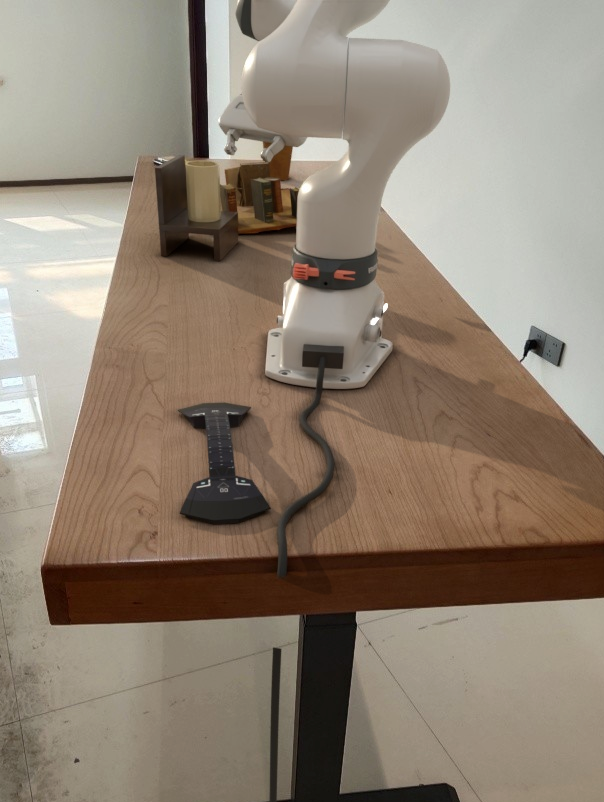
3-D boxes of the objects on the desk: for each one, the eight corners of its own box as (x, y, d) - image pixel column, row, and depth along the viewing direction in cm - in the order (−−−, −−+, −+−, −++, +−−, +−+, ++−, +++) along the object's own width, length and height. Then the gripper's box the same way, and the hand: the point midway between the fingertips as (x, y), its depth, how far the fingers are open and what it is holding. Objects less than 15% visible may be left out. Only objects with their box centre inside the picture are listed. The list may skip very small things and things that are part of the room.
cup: (215, 223, 142) (213, 167, 137) (183, 221, 143) (180, 165, 138) (224, 215, 148) (223, 161, 142) (193, 213, 148) (191, 159, 143)
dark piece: (250, 405, 93) (249, 381, 91) (272, 521, 73) (272, 493, 71) (177, 408, 92) (176, 383, 90) (180, 526, 72) (177, 498, 70)
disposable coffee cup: (301, 178, 209) (302, 131, 202) (278, 183, 203) (279, 135, 196) (276, 173, 214) (277, 127, 207) (253, 177, 208) (253, 130, 201)
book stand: (322, 236, 159) (317, 161, 150) (214, 251, 157) (203, 176, 148) (292, 196, 187) (287, 132, 178) (200, 209, 185) (190, 144, 176)
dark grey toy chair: (220, 261, 142) (217, 172, 133) (160, 255, 144) (154, 167, 135) (238, 242, 154) (237, 159, 145) (183, 237, 155) (179, 154, 146)
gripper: (231, 79, 147) (199, 138, 146) (313, 88, 137) (279, 151, 136) (246, 103, 153) (215, 159, 152) (326, 113, 143) (293, 174, 142)
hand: (246, 156), depth 144 cm, fingers open, 8 cm apart
